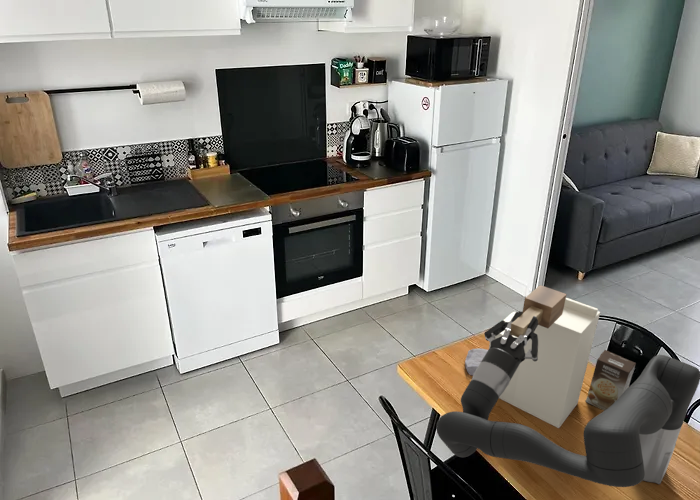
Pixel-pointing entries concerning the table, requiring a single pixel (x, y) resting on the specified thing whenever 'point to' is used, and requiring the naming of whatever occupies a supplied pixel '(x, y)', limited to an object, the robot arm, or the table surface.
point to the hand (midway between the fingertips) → (528, 315)
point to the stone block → (474, 359)
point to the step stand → (555, 365)
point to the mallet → (539, 309)
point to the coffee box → (609, 379)
